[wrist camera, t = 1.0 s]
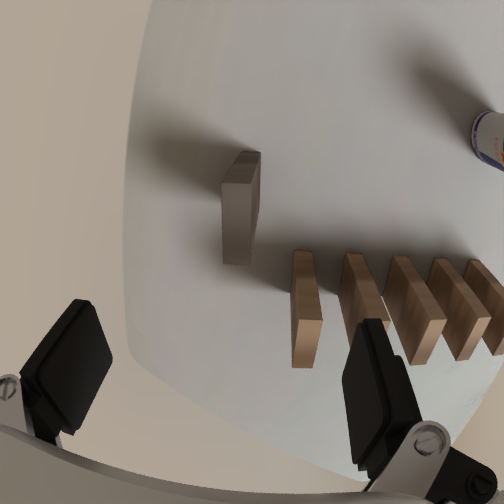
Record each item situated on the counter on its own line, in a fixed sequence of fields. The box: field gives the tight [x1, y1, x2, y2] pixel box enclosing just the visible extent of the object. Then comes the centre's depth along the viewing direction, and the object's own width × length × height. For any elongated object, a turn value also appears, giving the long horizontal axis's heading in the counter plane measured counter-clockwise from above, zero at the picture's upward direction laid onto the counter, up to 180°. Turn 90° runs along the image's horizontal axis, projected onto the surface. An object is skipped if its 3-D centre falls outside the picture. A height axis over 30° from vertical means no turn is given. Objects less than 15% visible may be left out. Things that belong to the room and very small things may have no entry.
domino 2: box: [290, 250, 323, 368], centre depth 26 cm, size 5×2×10 cm, turn 179°
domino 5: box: [426, 258, 491, 361], centre depth 25 cm, size 5×2×10 cm, turn 179°
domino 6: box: [463, 260, 504, 356], centre depth 25 cm, size 5×2×10 cm, turn 179°
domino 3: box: [338, 253, 391, 348], centre depth 26 cm, size 5×2×10 cm, turn 179°
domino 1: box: [221, 152, 261, 265], centre depth 22 cm, size 5×2×10 cm, turn 179°
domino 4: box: [382, 255, 447, 366], centre depth 25 cm, size 5×2×10 cm, turn 179°
